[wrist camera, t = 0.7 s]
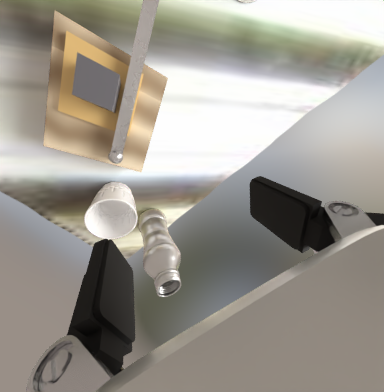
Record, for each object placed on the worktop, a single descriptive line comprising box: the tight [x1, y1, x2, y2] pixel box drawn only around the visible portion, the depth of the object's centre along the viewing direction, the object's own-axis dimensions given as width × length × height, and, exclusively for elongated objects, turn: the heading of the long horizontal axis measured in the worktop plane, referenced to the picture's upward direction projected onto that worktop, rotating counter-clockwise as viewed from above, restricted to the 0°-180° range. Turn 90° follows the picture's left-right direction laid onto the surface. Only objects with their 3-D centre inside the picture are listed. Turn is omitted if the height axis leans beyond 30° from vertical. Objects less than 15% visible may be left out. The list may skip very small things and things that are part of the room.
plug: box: [58, 31, 144, 136], centre depth 21 cm, size 9×9×9 cm
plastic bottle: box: [138, 209, 181, 297], centre depth 31 cm, size 6×7×20 cm
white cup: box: [84, 182, 138, 239], centre depth 29 cm, size 8×8×10 cm
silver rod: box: [108, 0, 159, 164], centre depth 22 cm, size 21×2×3 cm, turn 157°
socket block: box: [43, 11, 168, 172], centre depth 25 cm, size 16×14×5 cm
